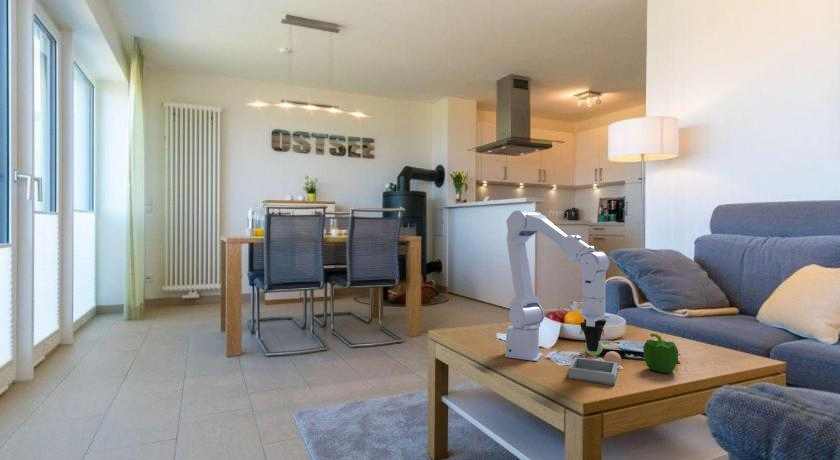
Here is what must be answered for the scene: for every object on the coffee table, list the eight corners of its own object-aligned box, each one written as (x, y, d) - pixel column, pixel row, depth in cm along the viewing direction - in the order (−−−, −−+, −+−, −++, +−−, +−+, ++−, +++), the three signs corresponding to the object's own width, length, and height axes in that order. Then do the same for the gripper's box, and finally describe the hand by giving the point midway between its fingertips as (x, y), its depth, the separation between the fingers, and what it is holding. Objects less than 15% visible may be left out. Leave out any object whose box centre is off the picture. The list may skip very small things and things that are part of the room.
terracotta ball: (603, 368, 126) (603, 352, 126) (604, 364, 130) (605, 348, 130) (620, 370, 124) (620, 354, 124) (621, 366, 128) (621, 350, 128)
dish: (568, 378, 117) (568, 368, 117) (574, 367, 127) (574, 357, 127) (614, 385, 112) (614, 374, 112) (617, 373, 122) (617, 362, 122)
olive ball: (583, 356, 119) (583, 339, 118) (586, 351, 122) (586, 335, 122) (601, 358, 116) (601, 341, 116) (603, 354, 120) (603, 337, 120)
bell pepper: (684, 372, 123) (684, 335, 123) (667, 377, 118) (668, 339, 118) (654, 364, 130) (654, 329, 130) (637, 369, 125) (637, 333, 125)
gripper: (607, 302, 111) (607, 357, 111) (612, 294, 124) (612, 344, 124) (577, 300, 114) (577, 353, 114) (585, 292, 127) (584, 341, 127)
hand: (593, 348), depth 119 cm, fingers closed on olive ball, 4 cm apart
